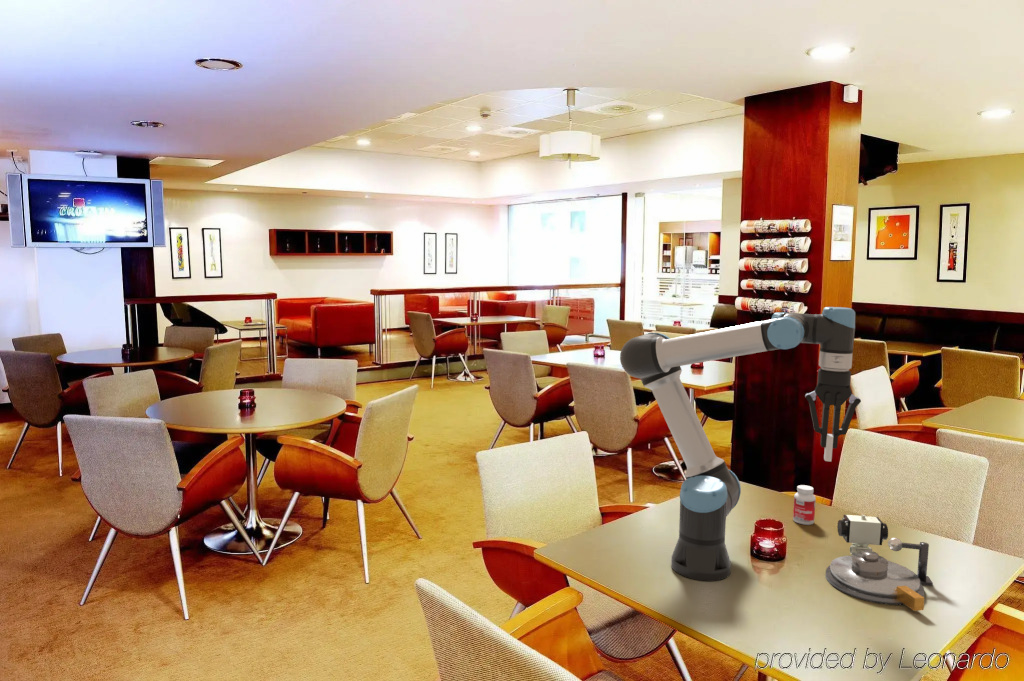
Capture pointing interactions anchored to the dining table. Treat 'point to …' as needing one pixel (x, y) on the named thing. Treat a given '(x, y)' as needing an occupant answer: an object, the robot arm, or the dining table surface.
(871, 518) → the pneumatic valve
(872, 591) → the turntable
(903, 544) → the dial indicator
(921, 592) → the turntable base
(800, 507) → the pill bottle
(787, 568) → the dining table surface
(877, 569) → the cover
